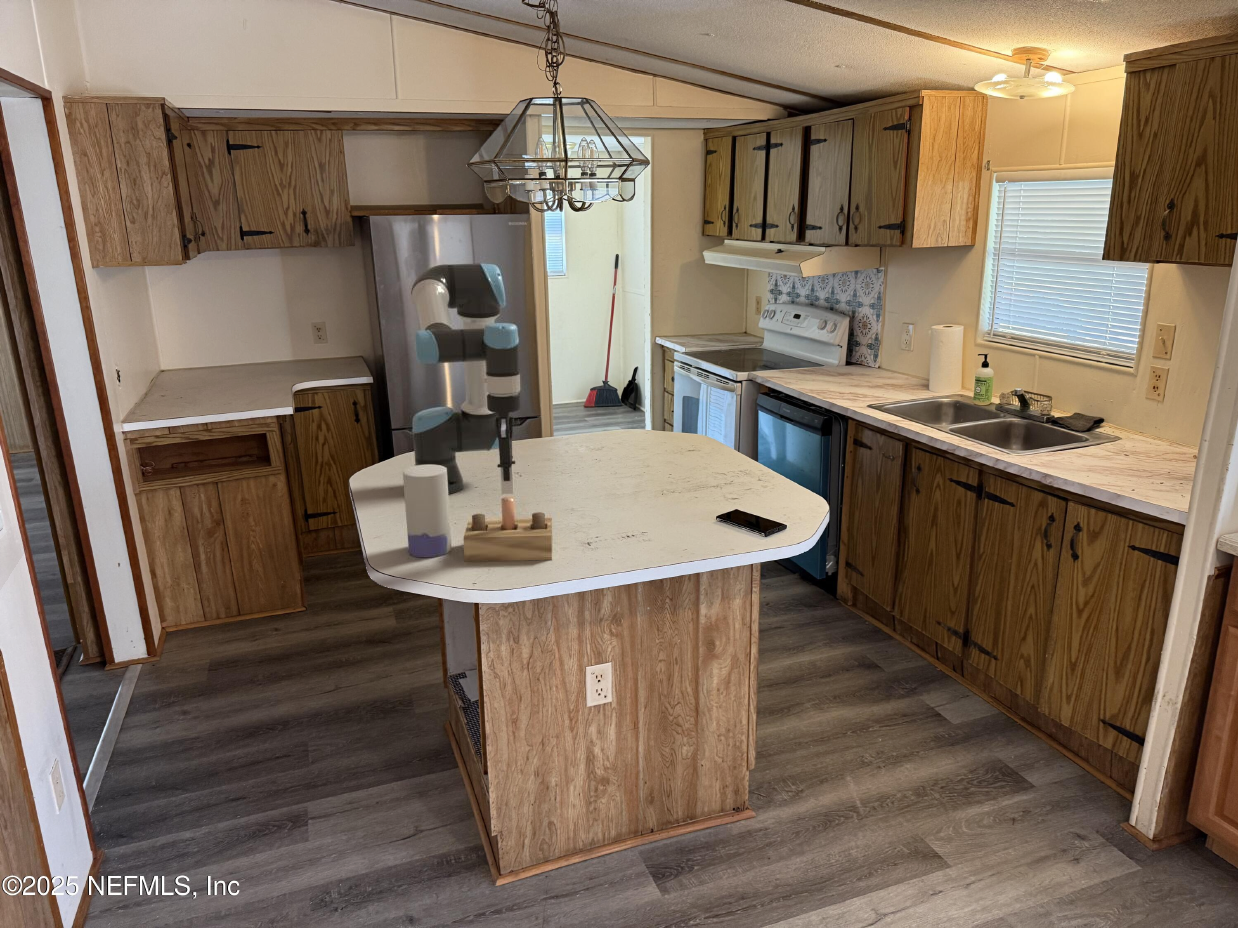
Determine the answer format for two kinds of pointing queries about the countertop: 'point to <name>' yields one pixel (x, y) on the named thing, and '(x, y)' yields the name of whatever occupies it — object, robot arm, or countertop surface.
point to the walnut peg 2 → (538, 521)
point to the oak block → (508, 541)
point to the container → (427, 510)
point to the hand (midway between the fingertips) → (507, 492)
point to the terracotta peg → (508, 513)
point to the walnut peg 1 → (478, 522)
